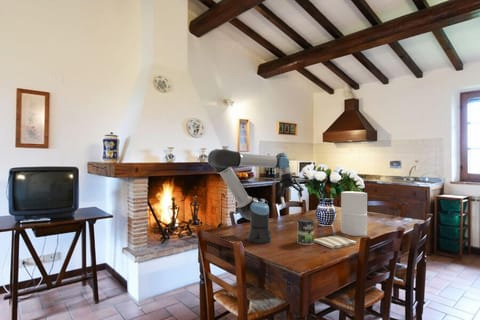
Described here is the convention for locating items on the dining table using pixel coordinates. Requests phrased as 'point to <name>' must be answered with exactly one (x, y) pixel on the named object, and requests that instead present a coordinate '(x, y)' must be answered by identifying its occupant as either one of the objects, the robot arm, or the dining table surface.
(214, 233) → the dining table surface
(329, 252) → the dining table surface
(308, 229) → the coffee can
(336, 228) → the dining table surface
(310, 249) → the dining table surface
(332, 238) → the birch board
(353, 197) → the cylinder
